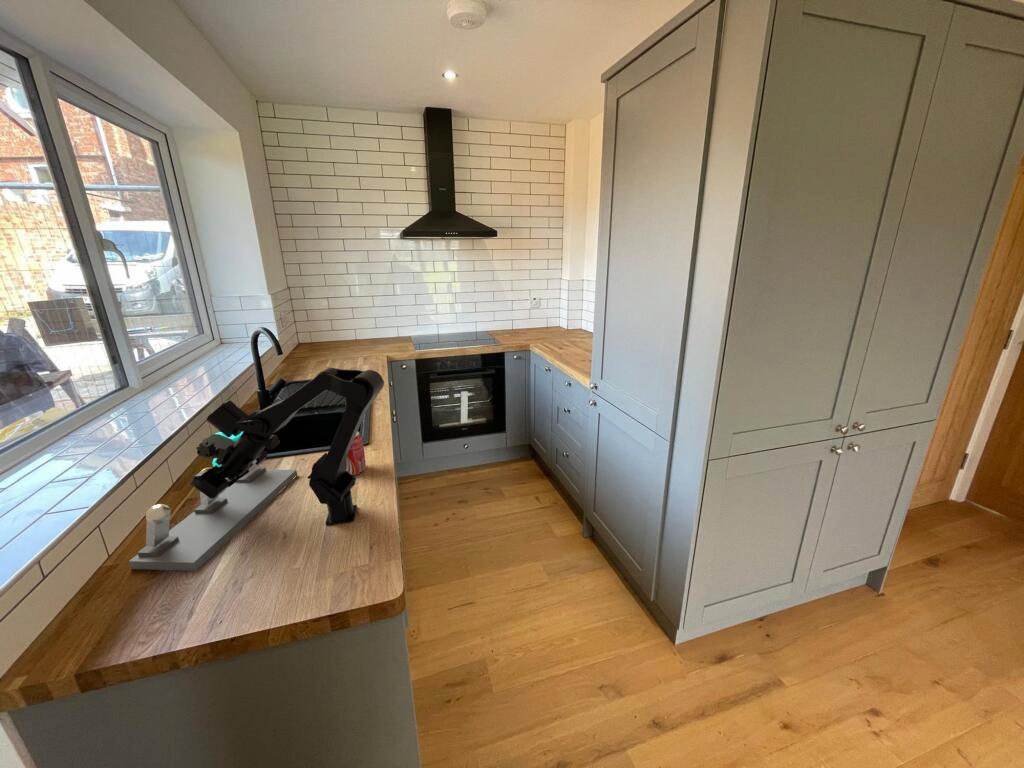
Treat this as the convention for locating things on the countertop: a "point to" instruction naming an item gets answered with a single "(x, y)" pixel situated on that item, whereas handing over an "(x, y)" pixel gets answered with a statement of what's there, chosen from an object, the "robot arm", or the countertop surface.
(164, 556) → the switch panel
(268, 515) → the countertop surface
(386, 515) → the countertop surface
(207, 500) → the orange lever
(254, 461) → the grey paddle
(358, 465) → the soda can
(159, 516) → the cream lever
